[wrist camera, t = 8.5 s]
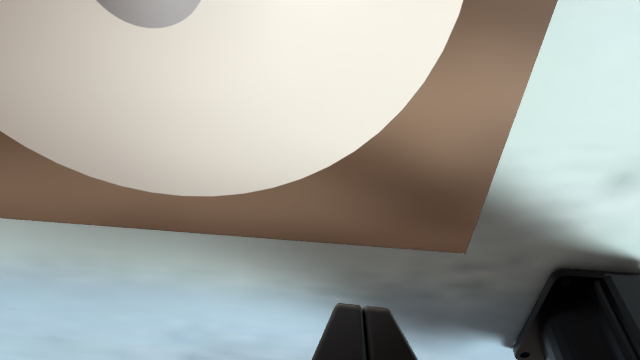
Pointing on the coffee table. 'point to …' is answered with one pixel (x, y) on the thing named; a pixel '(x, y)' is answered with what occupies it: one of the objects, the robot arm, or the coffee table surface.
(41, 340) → the coffee table surface
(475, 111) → the stand plate
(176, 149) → the dial
